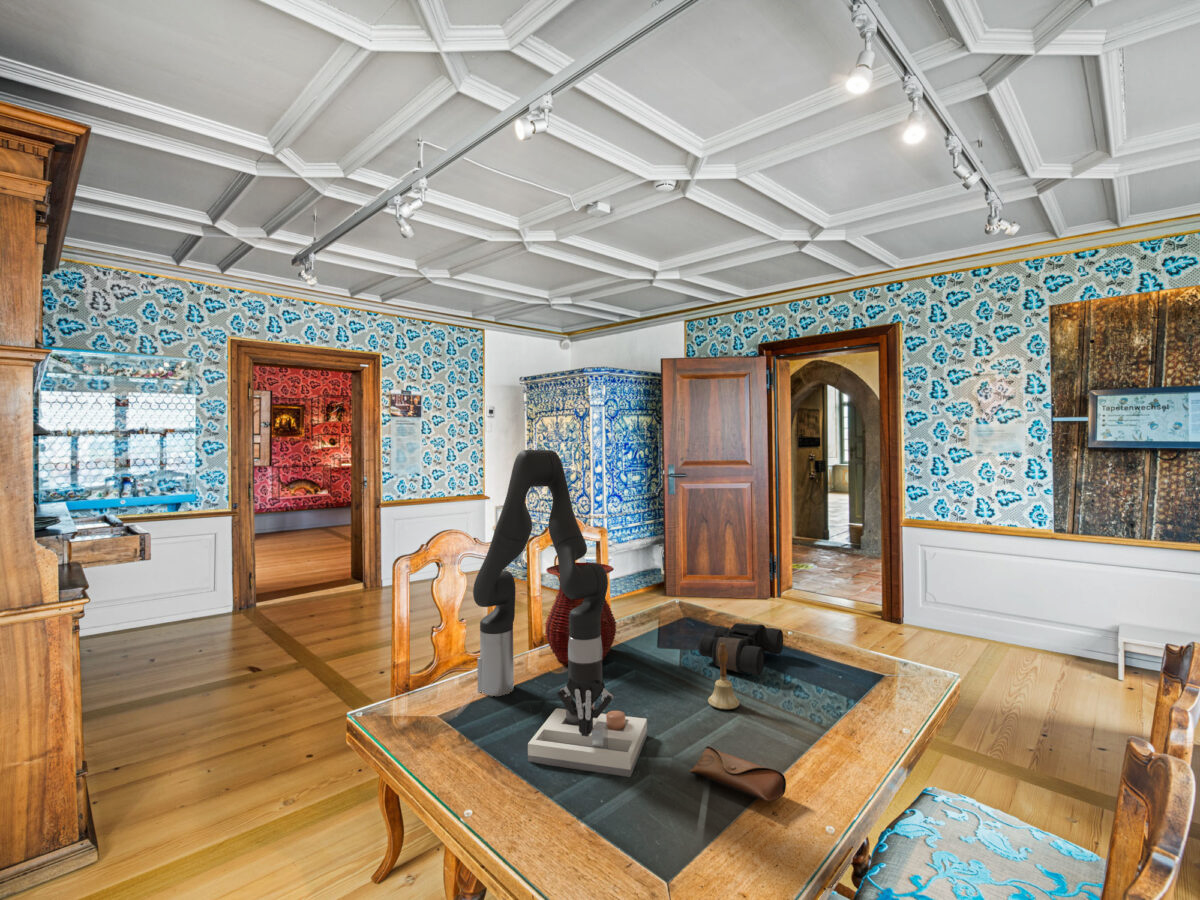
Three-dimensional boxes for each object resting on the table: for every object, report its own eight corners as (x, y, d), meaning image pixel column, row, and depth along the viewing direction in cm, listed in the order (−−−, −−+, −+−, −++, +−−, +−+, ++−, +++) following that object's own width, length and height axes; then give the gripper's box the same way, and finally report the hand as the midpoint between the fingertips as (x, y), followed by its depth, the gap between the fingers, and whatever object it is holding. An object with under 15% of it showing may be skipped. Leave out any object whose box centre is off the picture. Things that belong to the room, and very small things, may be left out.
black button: (563, 724, 134) (563, 713, 134) (569, 715, 138) (569, 705, 138) (581, 726, 133) (581, 715, 133) (586, 717, 137) (586, 707, 137)
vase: (575, 643, 202) (574, 559, 203) (630, 656, 189) (629, 566, 189) (530, 663, 183) (529, 570, 184) (588, 679, 170) (587, 579, 170)
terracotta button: (604, 729, 131) (604, 717, 131) (609, 720, 135) (609, 709, 136) (622, 731, 130) (622, 720, 130) (627, 722, 134) (627, 711, 134)
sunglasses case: (685, 770, 117) (695, 737, 120) (698, 781, 121) (707, 748, 125) (770, 802, 106) (778, 765, 109) (781, 813, 110) (789, 776, 113)
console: (527, 762, 124) (527, 743, 124) (556, 724, 142) (556, 708, 142) (630, 777, 118) (630, 757, 118) (647, 735, 135) (646, 718, 135)
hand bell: (740, 710, 148) (739, 649, 148) (707, 708, 150) (706, 647, 150) (738, 697, 156) (738, 639, 156) (708, 695, 158) (707, 637, 158)
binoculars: (757, 682, 166) (756, 648, 166) (692, 669, 178) (692, 637, 178) (784, 653, 190) (783, 623, 190) (725, 643, 202) (725, 614, 202)
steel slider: (592, 755, 123) (591, 729, 123) (597, 746, 127) (597, 721, 127) (602, 756, 122) (602, 730, 122) (607, 747, 126) (607, 722, 126)
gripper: (551, 659, 123) (551, 739, 123) (609, 664, 120) (610, 747, 120) (562, 647, 131) (563, 723, 130) (618, 652, 127) (619, 730, 127)
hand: (586, 734), depth 125 cm, fingers closed
